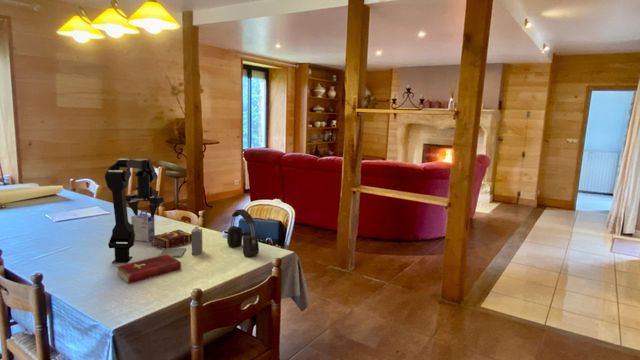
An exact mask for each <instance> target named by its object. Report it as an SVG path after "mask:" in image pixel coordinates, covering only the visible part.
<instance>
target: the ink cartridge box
mask: <svg viewBox="0 0 640 360" xmlns="http://www.w3.org/2000/svg"><path fill="white" fill-rule="evenodd" d="M130 219H131V221H130V222H131V223H130V224H133V225H134V233H135V239H134V241H141V242H150V241H153V238H152V236H154V235H156V233H155V232H156V231H155V230H156V229H155V216H154V217H151V214H150V215H148V211H147V210H140V213H139V214H138V215H137V216H135V214H134V215H132V216H131V217H130Z"/></svg>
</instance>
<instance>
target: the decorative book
mask: <svg viewBox="0 0 640 360" xmlns="http://www.w3.org/2000/svg"><path fill="white" fill-rule="evenodd" d="M152 238H153V240H152V241H153V242H151V246H155V247H159V248H161V249H164V248H176V246H177V247H178V246H180V245H186V244H188V243H192V238H191V233H188V232H186V231H183V230H181V229H175V230H172V231H170V232H168V231H166V232H163V233H161V234H155V235H154V236H152Z"/></svg>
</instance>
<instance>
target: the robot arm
mask: <svg viewBox="0 0 640 360" xmlns="http://www.w3.org/2000/svg"><path fill="white" fill-rule="evenodd" d="M153 164H154V163H153V162H152V161H151V159H150V158H135V159H129V158H118V159H117V160H116V162H115V163H113V164H112V165H111V166H109V167H108V169H107V171H106V172H105V174H104V180H105V184H106V188H108V189H109V191H110V192H111V195H112V203H113V205H112V206H113V212H114V220H115V221H114V222H115V225H114V227H113V228H112V233H111V236H110V238H109V240H108V244H107V245H108V248H109V249H114V251H113V252H114V259H113V260H112V261H111V264H128V263H130V261H131V260H132V259H133V258H134V257H133V256H130V249H131V248H132V247H134V245H135V240H134V239H135V233H134V225H133V224H131V223H130V222H129V217H128V206H129V208H130V209H131V210H132V213H133V214H134V215H135V216H137V215H139V203H140V201H142V202H149V204H148V206H149V213H150V215H151V217H154V218H155V215H156V212H157V209H158V207H159V206H160V205H162V203H165V198H164V197H163V196H159V192H160V191H159V190H156V189H153V187H152V186H151V183H153V182H155V181H157V180H158V173H157V172H156V169H155V167H154V165H153ZM121 169H126V170H121ZM131 169H133V170H134V171H136V173H135V175H134V176H135V177H136V186H135V187H134V189H135V190H136V191H137V194H135V193H130V194H126V188H127V187H128V185H129V180H130V178H131V176H132V171H131ZM127 205H128V206H127Z"/></svg>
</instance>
